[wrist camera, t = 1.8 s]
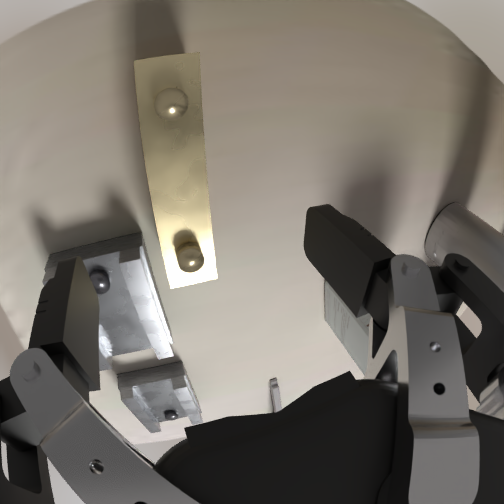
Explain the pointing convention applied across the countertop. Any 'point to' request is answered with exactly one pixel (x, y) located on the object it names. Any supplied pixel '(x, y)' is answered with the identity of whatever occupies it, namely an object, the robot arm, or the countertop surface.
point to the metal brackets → (134, 328)
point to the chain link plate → (176, 163)
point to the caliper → (275, 395)
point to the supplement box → (348, 327)
